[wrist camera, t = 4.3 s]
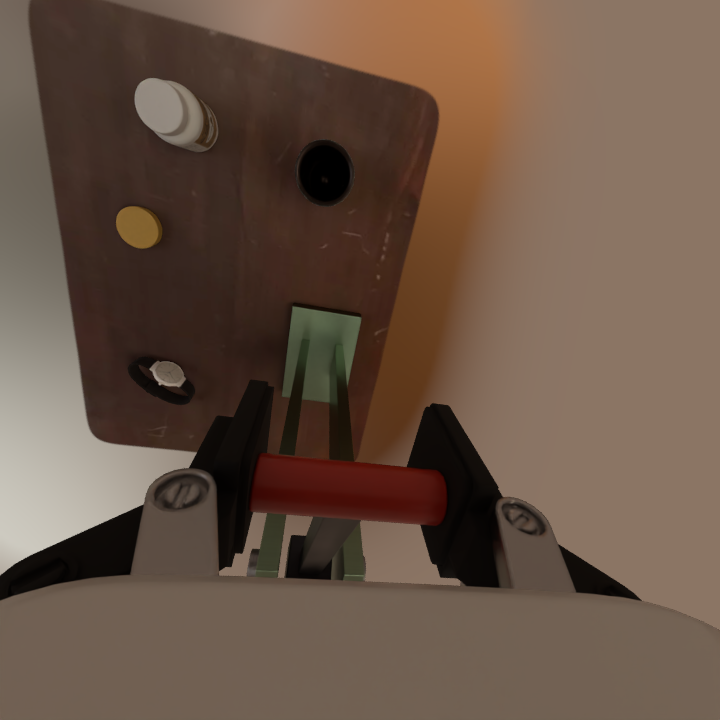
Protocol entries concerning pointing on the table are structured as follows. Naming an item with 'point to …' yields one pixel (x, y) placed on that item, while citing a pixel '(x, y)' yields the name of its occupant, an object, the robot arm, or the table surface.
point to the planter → (324, 172)
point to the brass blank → (139, 227)
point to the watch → (162, 380)
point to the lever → (341, 502)
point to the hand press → (329, 384)
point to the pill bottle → (176, 114)
